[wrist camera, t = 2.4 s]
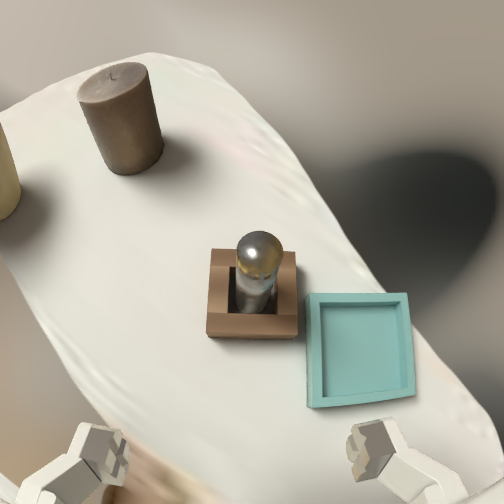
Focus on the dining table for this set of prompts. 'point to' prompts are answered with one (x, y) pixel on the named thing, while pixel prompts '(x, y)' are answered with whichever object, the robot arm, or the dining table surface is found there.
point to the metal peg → (256, 269)
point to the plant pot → (7, 179)
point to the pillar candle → (122, 117)
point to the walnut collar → (251, 325)
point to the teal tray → (358, 348)
